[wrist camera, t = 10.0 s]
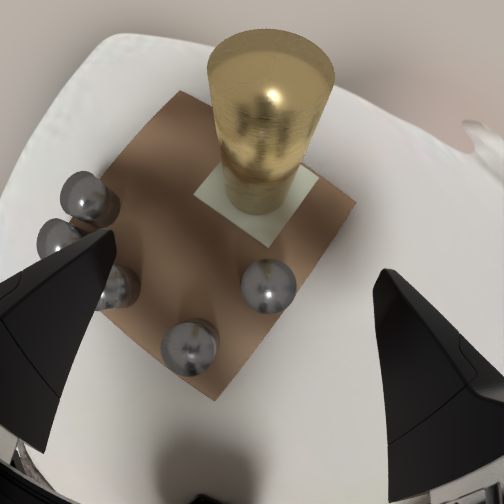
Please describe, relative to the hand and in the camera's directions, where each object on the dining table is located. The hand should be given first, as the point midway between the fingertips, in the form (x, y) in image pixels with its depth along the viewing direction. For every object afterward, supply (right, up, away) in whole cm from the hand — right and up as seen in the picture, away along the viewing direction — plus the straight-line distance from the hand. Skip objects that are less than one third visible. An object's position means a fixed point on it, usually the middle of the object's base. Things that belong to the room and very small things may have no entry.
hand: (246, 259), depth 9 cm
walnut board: (-4, +2, +12) cm, 13 cm away
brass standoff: (+1, +5, +11) cm, 12 cm away
